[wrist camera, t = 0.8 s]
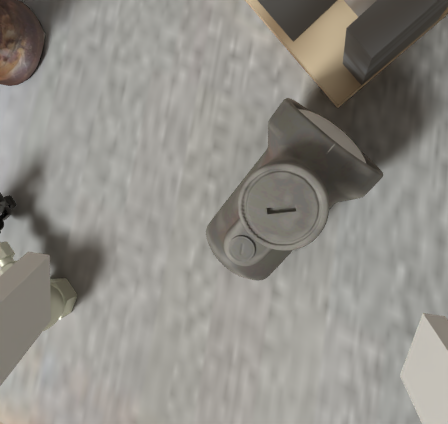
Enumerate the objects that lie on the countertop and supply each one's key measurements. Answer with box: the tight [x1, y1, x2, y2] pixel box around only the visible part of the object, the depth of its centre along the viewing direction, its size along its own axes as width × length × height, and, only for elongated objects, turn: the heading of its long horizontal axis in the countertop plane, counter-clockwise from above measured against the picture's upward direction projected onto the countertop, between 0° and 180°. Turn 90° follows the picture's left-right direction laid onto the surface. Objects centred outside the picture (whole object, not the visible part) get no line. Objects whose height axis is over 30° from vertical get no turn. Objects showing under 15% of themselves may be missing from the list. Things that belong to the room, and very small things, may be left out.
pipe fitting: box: [206, 98, 383, 280], centre depth 28 cm, size 12×8×10 cm
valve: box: [0, 193, 77, 331], centre depth 36 cm, size 7×7×12 cm
